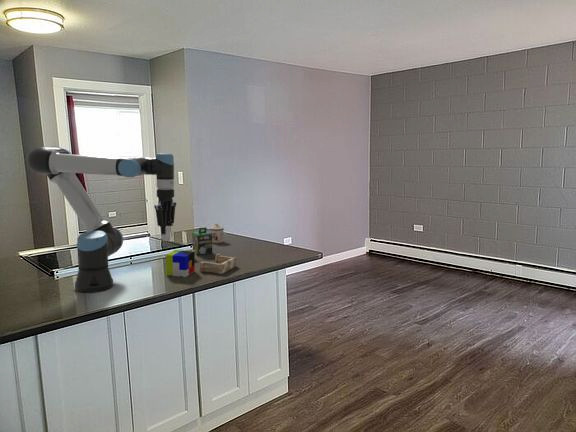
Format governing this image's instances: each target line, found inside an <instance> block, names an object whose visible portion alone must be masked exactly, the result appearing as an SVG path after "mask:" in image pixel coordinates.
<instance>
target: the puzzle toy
mask: <svg viewBox="0 0 576 432" xmlns="http://www.w3.org/2000/svg"><path fill="white" fill-rule="evenodd" d="M195 263H196V262H195V257H194V251H192V250H182V249H181V250H180V249H174V250H173V251H171V252H169V253H167V254H166V255H165V272H166V273H165V274H166V276H170V275H172V277H180V276H183V277H182V278H187V277H188V276H190V275H191V274H193V273H195ZM192 272H193V273H192ZM189 274H190V275H189ZM186 276H187V277H186Z"/></svg>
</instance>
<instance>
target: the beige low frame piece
mask: <svg viewBox="0 0 576 432" xmlns="http://www.w3.org/2000/svg"><path fill="white" fill-rule="evenodd" d="M191 251H194V257H195V260H197V259H196V258H197V254H196V251H195V250H193V249H192V250H191ZM214 256H215V262H210V261H205V260H204V261H203V260H202V261H201V262H199V272H200V273H203V272H206V273H212V272H213V274H220V275H222V274H224V273H226V272H228V271H229V270H232V269H233V268H235V267H237V257H233V256H227V255H226V256H225V255H222V254H221V253H216V255H214Z"/></svg>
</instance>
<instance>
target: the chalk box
mask: <svg viewBox="0 0 576 432" xmlns="http://www.w3.org/2000/svg"><path fill="white" fill-rule="evenodd" d="M207 230H208V228H207V226H206V227H199V229H198V231H193V232H192V238H191V240H192V241H191V242H192V243H191V244H192V250H195V251H196V255H206V254H208V255H209V254H213V243H212V233H210V231H207Z"/></svg>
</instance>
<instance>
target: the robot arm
mask: <svg viewBox="0 0 576 432" xmlns="http://www.w3.org/2000/svg"><path fill="white" fill-rule="evenodd" d="M26 164H27V167H28V168H29V170H31V171H32V172H33V173H35V174H37V175H42V176H43V175H44V176H47V178H48V179H49V181H50V182H51V183H54V184H56V185H57V186H58V188H59V189H60V191H61V193H62V194H63V196H64V198H65V199H66V201H67V202H68V204H69V205H70V207H71V209H72V210H73V211H74V213H75V214H76V216H77V217H78V219H79V221H80V222H81V223H82V225H83V227H84V228H85V232H83V233H81V234H79V235H78V237H77V239H76V241H77V243H76V249H77V265H78V267H77V268H78V272H77V275H76V280H75V282H74V290H75V291H76V292H80V293H99V292H103V291H107V290H110V289H112V287H114V279H113V277H112V274H111V271H110V269H109V257H110V256H112V255H114V254H116V253H117V252H118V251H119V250H120V249H121V248H122V246H123V244H124V237H123V233H122V232H121V231H120V229H118V228H116V227H114V226H113V225H112V223H111V222H110V221H109V220H105V219H104V217H103V215H102V214H101V213H100V211H99V209H98V208H97V206H96V204H95V203H94V202H93V200H92V198H91V197H90V195H89V193H88V191H86V189H85V188H84V186H83V184H82V183H81V181H80V180H79V178H78V176H77V174H85V175H98V176H99V175H101V176H102V175H103V176H118V177H125V178H135V177H138V176H145V175H147V176H149V175H150V176H151V175H152V176H156V197H157V198H158V201H157V203H156V204H154V206H153V207H154V209H155V214H156V215H155V216H156V224H157V226H158V227H160V228H161V229H160V231H161V233H160V235H161V241H162V242H168V241H171V238H172V237H171V232H172V231H171V230H172V227H173V226H174V224H175V214H176V206H177V202H175V201H174V200H173V198H175V189H174V188H175V162H174V155H173V153H159V152H158V153H156V154H155V157H143V156H141V157H140V156H133V157H117V156H116V157H113V156H102V155H101V156H99V155H89V154H88V155H84V154H72V153H71V152H70V151H69V150H68V149H67V148H64V147H61V146H56V145H55V146H39V147H35V148H33V149H31V150H30V151H29V152H28V154H27V156H26Z"/></svg>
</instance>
